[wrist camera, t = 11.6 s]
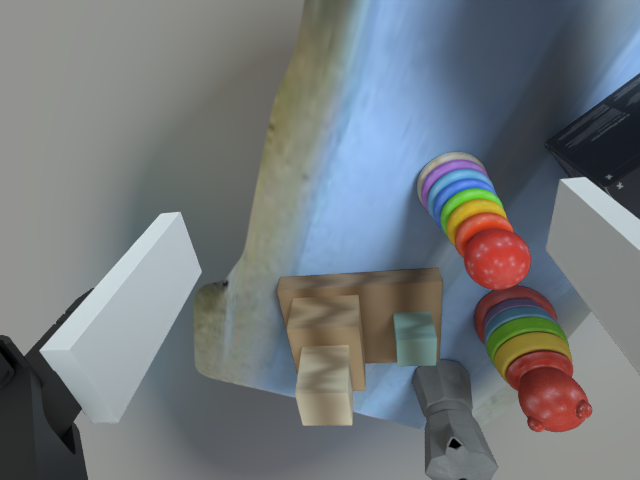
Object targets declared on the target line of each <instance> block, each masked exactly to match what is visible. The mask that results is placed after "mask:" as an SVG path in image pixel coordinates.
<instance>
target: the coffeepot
mask: <svg viewBox="0 0 640 480" xmlns="http://www.w3.org/2000/svg"><path fill="white" fill-rule="evenodd" d="M412 384H413V387H414V390H415V392H416V395H417V398H418V401H419V404H420V406H421V409H422V412H423V414H424V416H425V417H426V420H427V423H426V426H425V474H426V475H427V476H429V477H430V478H431V479H432V480H491V478H492V477H493V475H494V474H495V472H496V470H497V469H498V465H497V463H496V461H495V459H494V457H493V455H492V452H491V450H490V448H489V446H488V444H487V442H486V440H485V437H484V435H483V433H482V431H481V429H480V426H479V424H478V422H477V421H476V420H475V419H474V418H473V416H472V409H473V406H472V395H471V384H470V374H469V373H468V372H467V371H466V370H465V368H464V367H463V366H462V365H461V364H459V363H458V362H455V361H452V360H445V359H440V361H436V365H433V366H420V367H419V368H417V369H416V371H415V373H414V378H413V381H412Z"/></svg>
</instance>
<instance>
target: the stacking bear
mask: <svg viewBox="0 0 640 480" xmlns="http://www.w3.org/2000/svg"><path fill="white" fill-rule="evenodd" d="M556 321H557V317H556V314H555V311H554V309H553V307H552V305H551V304H550V303H549V301H548V300H547V299H546V298H545V297H544V296H542V295H541V294H539V293H538V292H536V291H534V290H532V289H529V288H526V287H523V286H513V287H510V288H507V289H501V290H494V291H492V292H490V293H489V294H487V295H486V296H485V297H484V298H483V299H482V300H481V301H480V302H479V304H478V306H477V309H476V312H475V317H474V324H475V329H476V332H477V334H478V336H479V338H480V340H481V341H482V342H483V344H485V346H486V349H487V352H488V355H489V357H490V359H491V361H492V363H493V364H494V366H495V367H496V368H497V370H498V372H499V373H500V375H501V376H502V377H503V379H504V380H505V381H506V382H507V383H508V384H510V386H511V387H513V388H514V389H516V390H517V391H518V397H519V403H520V406H521V408H522V410H523V412H524V413H525V415H526V416H527V418H528V420H527V422H528V426H529V428H530V429H531V430H533V431H536V432H542V431H544V430H547V431H551V432H564V431H568V430H571V429H574V428H576V427H578V426H579V425H580V424H581V423H582V422H583V421H584V420H585V419H586V418H588V417H589V416H590V415H591V414H592V407H591V405H590V404H589V403H588V400H587V397H586V394H585V393H584V391H583V389H582V388H581V387H580V385H578V383H577V382H576V381H575V380H574V379H573V378H572V375H573V365H572V358H571V353H570V350H569V345H568V341H567V339H566V336H565V334H564V332H563V330H562V329H561V327H560V325H559V324H558V323H557V322H556Z"/></svg>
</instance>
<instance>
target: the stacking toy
mask: <svg viewBox="0 0 640 480" xmlns="http://www.w3.org/2000/svg"><path fill="white" fill-rule="evenodd" d="M417 194H418V197H419V200H420V202H421V203H422V204H423V206H424V207H425V209H426V210H427V212H428V213H429V214H430V215H431V217H432V218H433V220H434V221H435V222H436V224H437V225H438V226H439V228H440V229H441V230H442V231H444V233H445V234H446V235H447V236H448V238H449V240H450V241H451V243H452V244H453V245H454V246H455V247H456V249H457V251H458V253H459V254H460V255H461V256H462V257H463V258H464V263H465V268H466V270H467V272H468V274H469V275H470V277H471V278H472V279H473V280H474V281H475V282H476V283H478V284H479V285H481V286H483V287H485V288H489V289H494V290H501V289H507V288H510V287H513V286H515V285H517V284H518V283H520V282H521V281H522V280H523V279H524V278H525V276H526V275H527V273H528V271H529V269H530V265H531V255H530V251H529V248H528V246H527V245H526V243H525V242H524V240H523V239H522V238H520V237H519V236H518V235H517V234H515V233H514V230H513V227H512V225H511V224H510V222H509V221H508V220H507V216H506V213H505V211H504V209H503V205H502V203H501V201H500V199H499V198H498V196H497V194H496V192H495V189H494V186H493V184H492V182H491V181H490V178H489V176H488V174H487V172H486V169H485V167H484V165H483V164H482V163H481V162H480V161H479V160H478V159H477V158H476V157H474V156H472V155H470V154H468V153H464V152H449V153H445V154H442V155H440V156H438V157H436V158H434V159H433V160H431V161H430V162H429V163H428V164H427V165H426V166H425V167H424V168H423V170H422V171H421V173H420V175H419V178H418V182H417Z"/></svg>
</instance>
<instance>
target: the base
mask: <svg viewBox="0 0 640 480" xmlns="http://www.w3.org/2000/svg"><path fill="white" fill-rule="evenodd" d="M442 291H443V280H442V277H441V274H440V270H439V268H426V269H409V270H393V271H376V272H360V273H343V274H327V275H310V276H294V277H280V281H279V284H278V288H277V294H278V298H279V302H280V306H281V310H282V314H283V318H284V322H285V327H286V331H287V335H288V339H289V343H290V347H291V351H292V356H293V360H294V364H295V367H296V371H297V375H298V371H299V364H300V357H301V351H302V347H306V346H336V345H349V351H350V359H351V367H352V375H353V391H366V382H365V363H389V362H397V366H433V365H436V361H440V340H441V316H442Z"/></svg>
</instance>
